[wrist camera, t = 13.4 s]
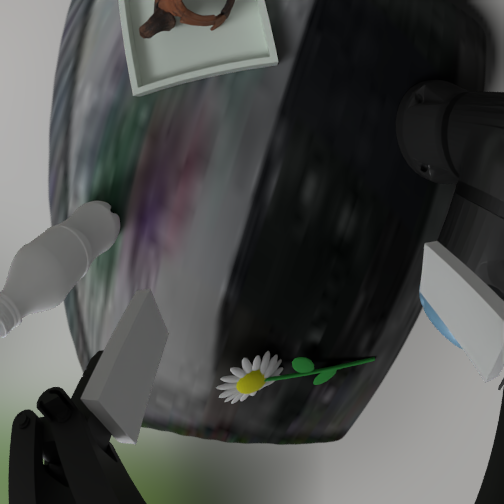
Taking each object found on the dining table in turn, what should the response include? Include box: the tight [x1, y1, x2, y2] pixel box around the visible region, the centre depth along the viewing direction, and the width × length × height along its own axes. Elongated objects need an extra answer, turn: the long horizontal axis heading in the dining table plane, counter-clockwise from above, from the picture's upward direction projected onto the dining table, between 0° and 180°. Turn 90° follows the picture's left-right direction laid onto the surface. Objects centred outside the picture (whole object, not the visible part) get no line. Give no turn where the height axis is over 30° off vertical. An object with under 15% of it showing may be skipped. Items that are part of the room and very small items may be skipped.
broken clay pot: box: [139, 0, 235, 39], centre depth 25 cm, size 12×10×8 cm
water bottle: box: [0, 201, 120, 338], centre depth 28 cm, size 7×7×25 cm
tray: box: [118, 0, 278, 97], centre depth 27 cm, size 18×18×2 cm
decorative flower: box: [217, 351, 375, 404], centre depth 50 cm, size 13×5×30 cm
